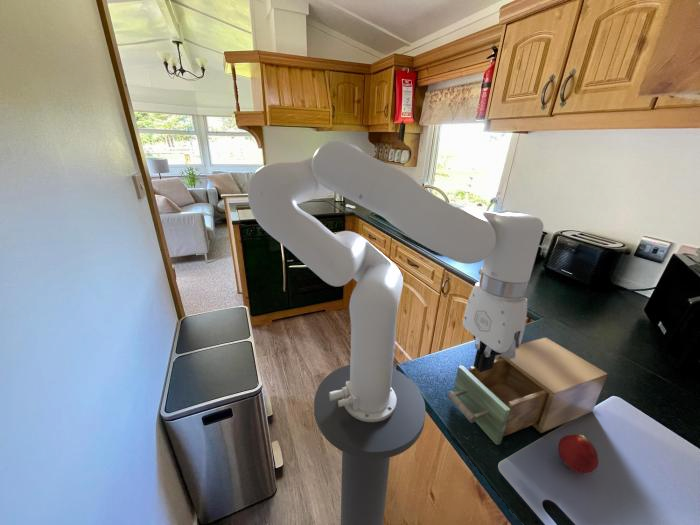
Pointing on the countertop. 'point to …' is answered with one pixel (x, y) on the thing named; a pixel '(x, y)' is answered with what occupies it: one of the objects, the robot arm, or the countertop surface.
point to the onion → (578, 453)
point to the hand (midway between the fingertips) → (482, 367)
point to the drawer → (498, 399)
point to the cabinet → (559, 380)
